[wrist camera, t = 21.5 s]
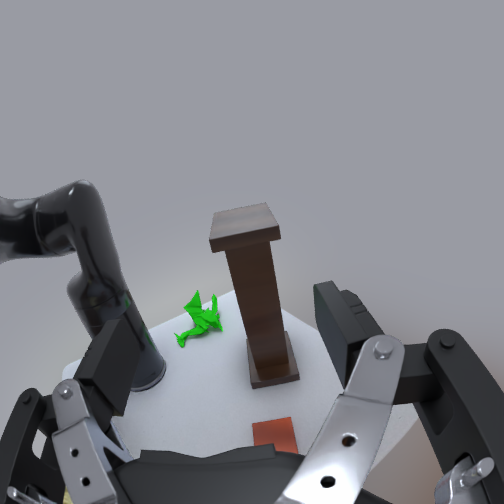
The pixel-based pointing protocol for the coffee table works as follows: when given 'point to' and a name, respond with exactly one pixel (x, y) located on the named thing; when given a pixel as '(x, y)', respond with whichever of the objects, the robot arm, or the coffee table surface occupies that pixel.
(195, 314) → the figurine
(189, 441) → the coffee table surface
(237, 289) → the wooden pedestal stand
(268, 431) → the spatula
